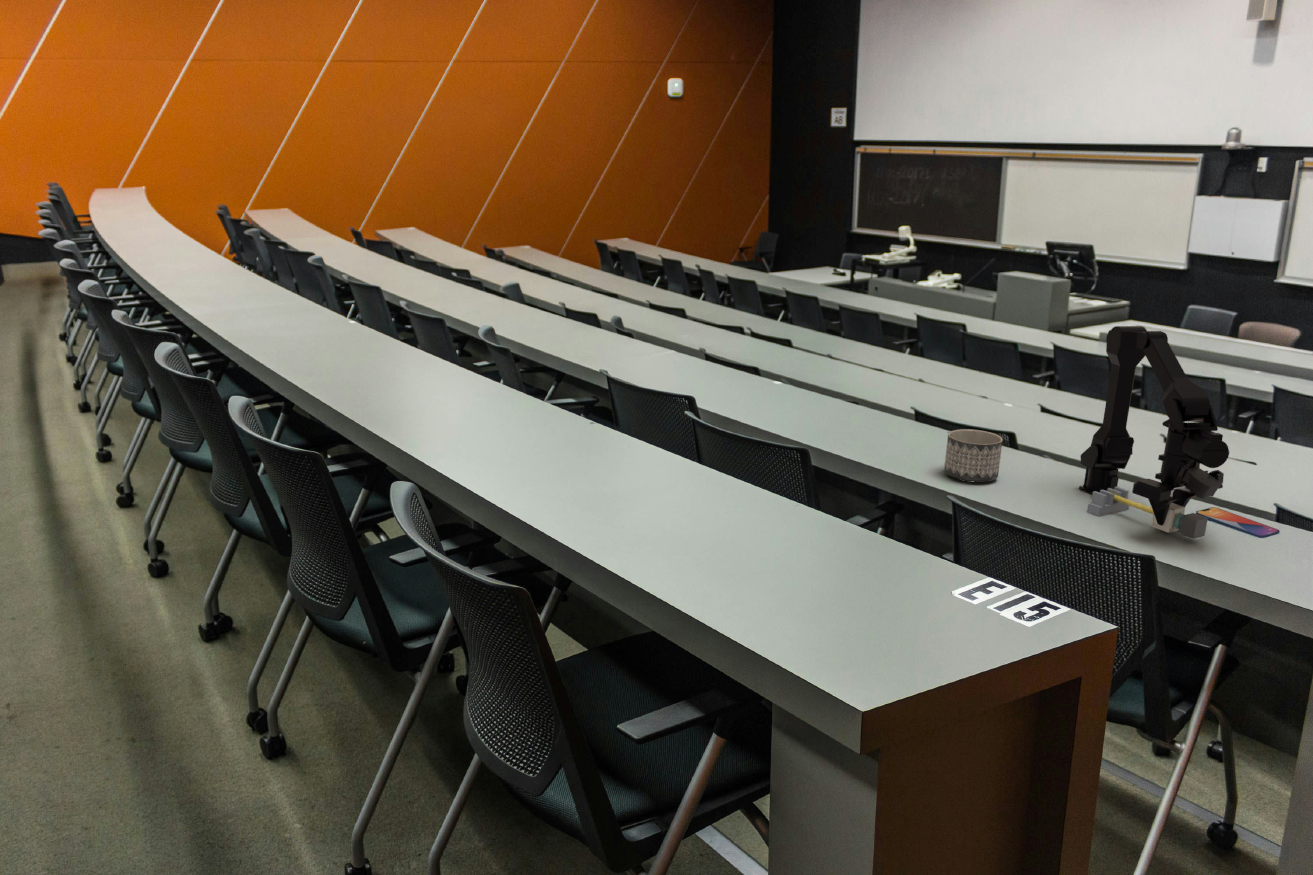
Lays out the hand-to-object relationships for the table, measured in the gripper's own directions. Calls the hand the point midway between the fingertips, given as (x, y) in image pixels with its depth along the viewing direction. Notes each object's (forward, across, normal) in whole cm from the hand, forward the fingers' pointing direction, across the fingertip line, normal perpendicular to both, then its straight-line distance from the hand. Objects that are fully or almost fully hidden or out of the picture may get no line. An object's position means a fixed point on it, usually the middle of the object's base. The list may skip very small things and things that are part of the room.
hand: (1167, 523), depth 201 cm
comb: (+2, 0, +14) cm, 14 cm away
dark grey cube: (+1, 0, -5) cm, 5 cm away
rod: (-1, 0, +6) cm, 6 cm away
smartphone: (+3, +19, -4) cm, 19 cm away
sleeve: (+2, 0, 0) cm, 2 cm away
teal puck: (0, 0, -3) cm, 3 cm away
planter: (+2, -11, +45) cm, 46 cm away
